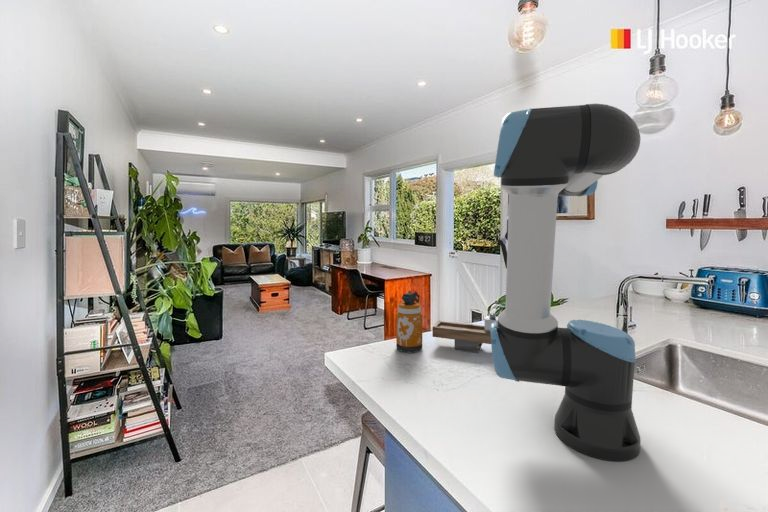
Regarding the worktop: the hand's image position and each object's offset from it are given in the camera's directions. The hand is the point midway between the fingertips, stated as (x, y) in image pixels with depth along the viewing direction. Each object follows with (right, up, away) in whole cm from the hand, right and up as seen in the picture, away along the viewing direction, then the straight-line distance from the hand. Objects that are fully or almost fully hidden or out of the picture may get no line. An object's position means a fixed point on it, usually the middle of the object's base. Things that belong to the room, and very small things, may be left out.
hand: (517, 290), depth 116 cm
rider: (-7, -14, +4) cm, 17 cm away
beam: (-14, -21, +8) cm, 26 cm away
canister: (-34, -21, +9) cm, 41 cm away
